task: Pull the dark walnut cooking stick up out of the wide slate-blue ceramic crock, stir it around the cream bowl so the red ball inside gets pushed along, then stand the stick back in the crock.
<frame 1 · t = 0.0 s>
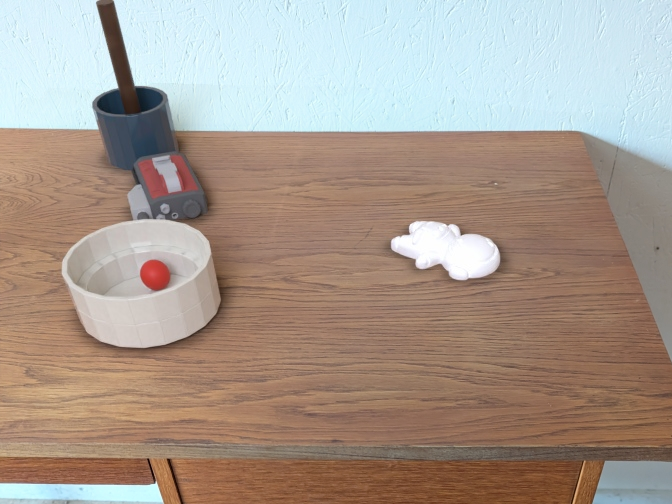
white animal figurine: (445, 256, 81), on the table
crock: (144, 157, 96), on the table
stick: (143, 153, 95), resting on crock
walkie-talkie: (170, 215, 87), on the table
bowl: (152, 309, 74), on the table
red ball: (155, 274, 75), point 2 cm above the table, touching bowl
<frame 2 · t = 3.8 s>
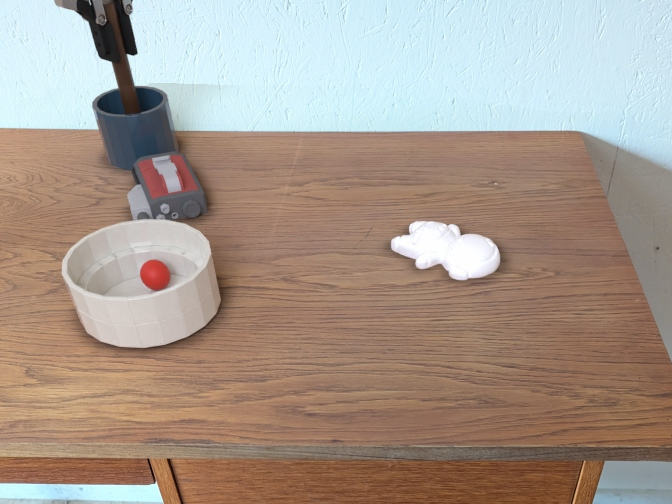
hand: (118, 55, 86), 12 cm above the table, tool pointing down, fingers closed on stick, 2 cm apart
stick: (143, 153, 95), point 1 cm above the table, touching gripper
everything else where it was.
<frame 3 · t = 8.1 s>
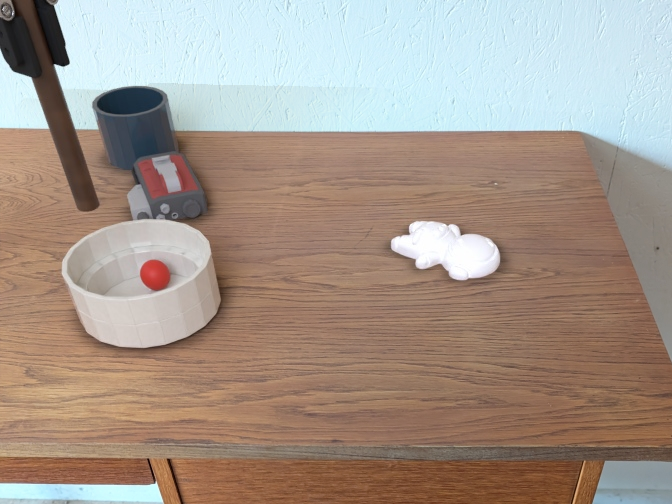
hand: (40, 66, 57), 23 cm above the table, tool pointing down, fingers closed on stick
stick: (88, 206, 66), point 11 cm above the table, touching gripper
everything else where it was.
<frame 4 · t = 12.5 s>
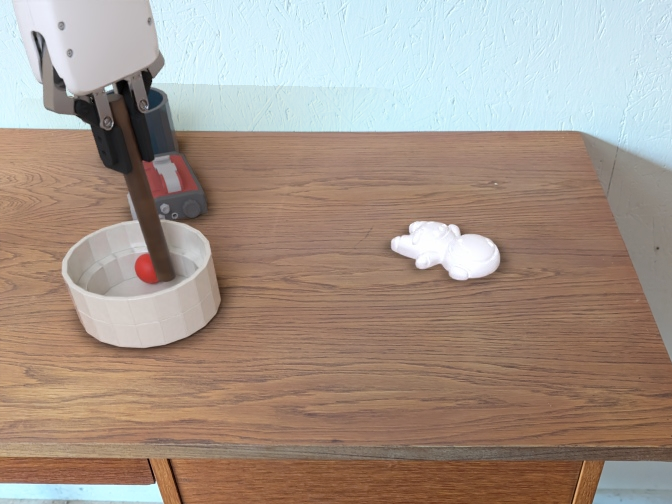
hand: (129, 162, 66), 14 cm above the table, tool pointing down, fingers closed on stick, 2 cm apart
stick: (166, 277, 74), point 2 cm above the table, touching gripper, red ball
red ball: (149, 268, 75), point 2 cm above the table, tilted 54°, touching bowl, stick
everything else where it was.
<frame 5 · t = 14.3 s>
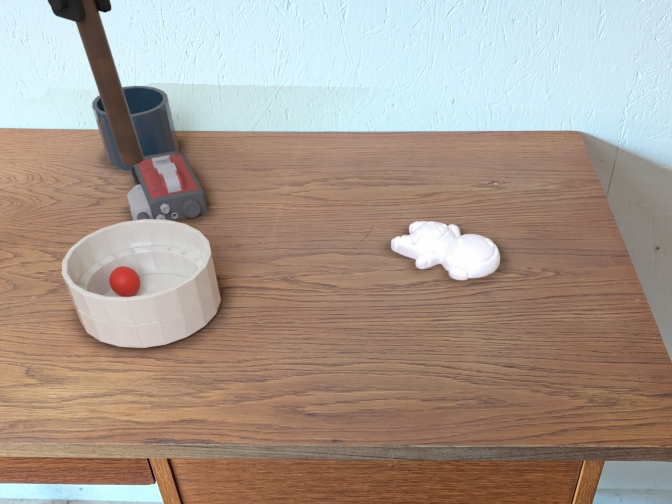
hand: (82, 11, 58), 25 cm above the table, tool pointing down, fingers closed on stick
stick: (133, 161, 66), point 13 cm above the table, tilted 5°, touching gripper
red ball: (124, 281, 74), point 2 cm above the table, tilted 93°, touching bowl
everything else where it was.
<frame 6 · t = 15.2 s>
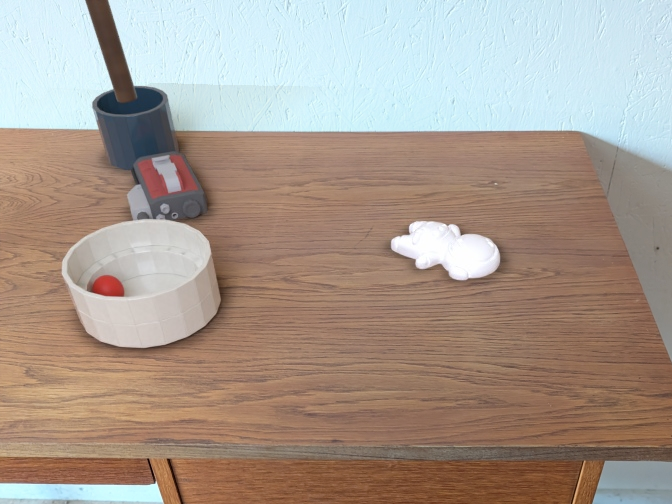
stick: (127, 99, 73), point 14 cm above the table, tilted 6°, touching gripper
red ball: (108, 290, 73), point 2 cm above the table, tilted 115°, touching bowl
everything else where it was.
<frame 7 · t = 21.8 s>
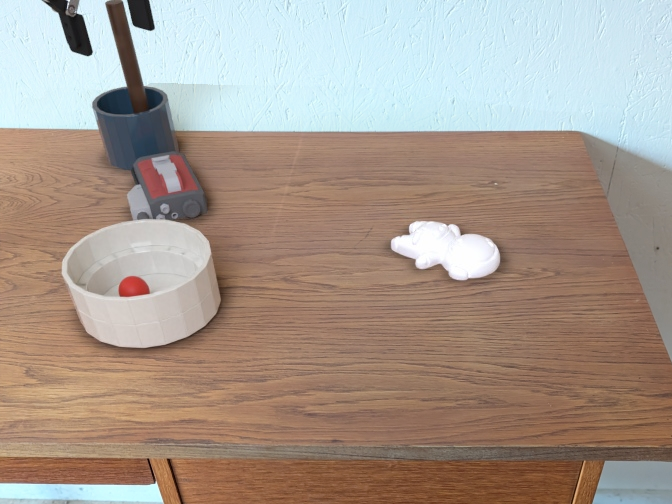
hand: (114, 40, 85), 14 cm above the table, tool pointing down, fingers open, 9 cm apart
stick: (153, 155, 95), point 1 cm above the table, touching crock
red ball: (134, 291, 73), point 2 cm above the table, tilted 36°, touching bowl
everything else where it was.
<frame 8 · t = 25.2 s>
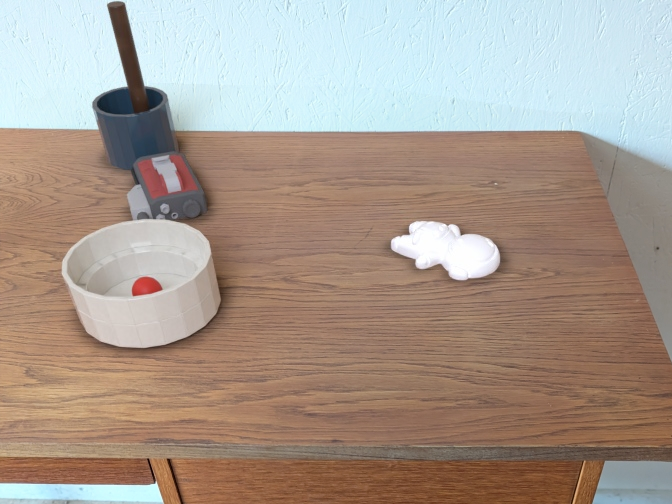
red ball: (147, 292, 73), point 2 cm above the table, tilted 44°, touching bowl
everything else where it was.
at the end: red ball moved 3.0 cm from its start; red ball inside the target area in the bowl (0.1 cm from its centre), point 2.1 cm above the bowl's base; stick 1.7 cm off-centre in the crock, point 0.5 cm above the crock's base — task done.
